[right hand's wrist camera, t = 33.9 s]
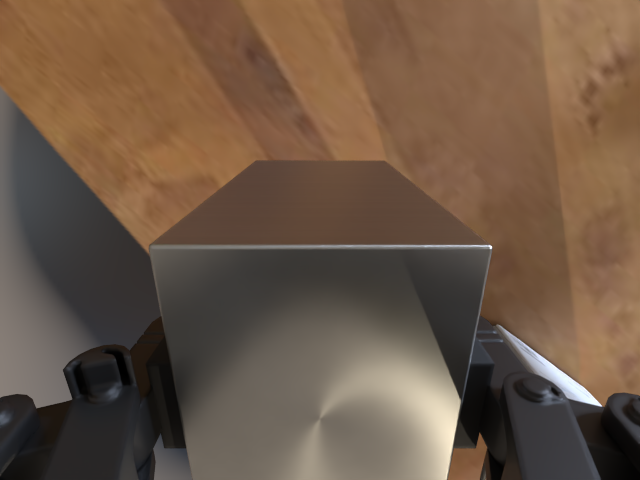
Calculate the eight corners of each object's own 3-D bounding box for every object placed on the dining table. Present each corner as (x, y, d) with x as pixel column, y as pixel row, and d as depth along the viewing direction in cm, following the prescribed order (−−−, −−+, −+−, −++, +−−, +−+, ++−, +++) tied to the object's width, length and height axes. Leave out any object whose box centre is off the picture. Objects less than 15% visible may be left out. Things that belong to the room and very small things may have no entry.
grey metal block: (264, 309, 20) (201, 535, 10) (255, 160, 17) (145, 245, 6) (375, 309, 20) (438, 536, 10) (385, 160, 17) (495, 245, 6)
